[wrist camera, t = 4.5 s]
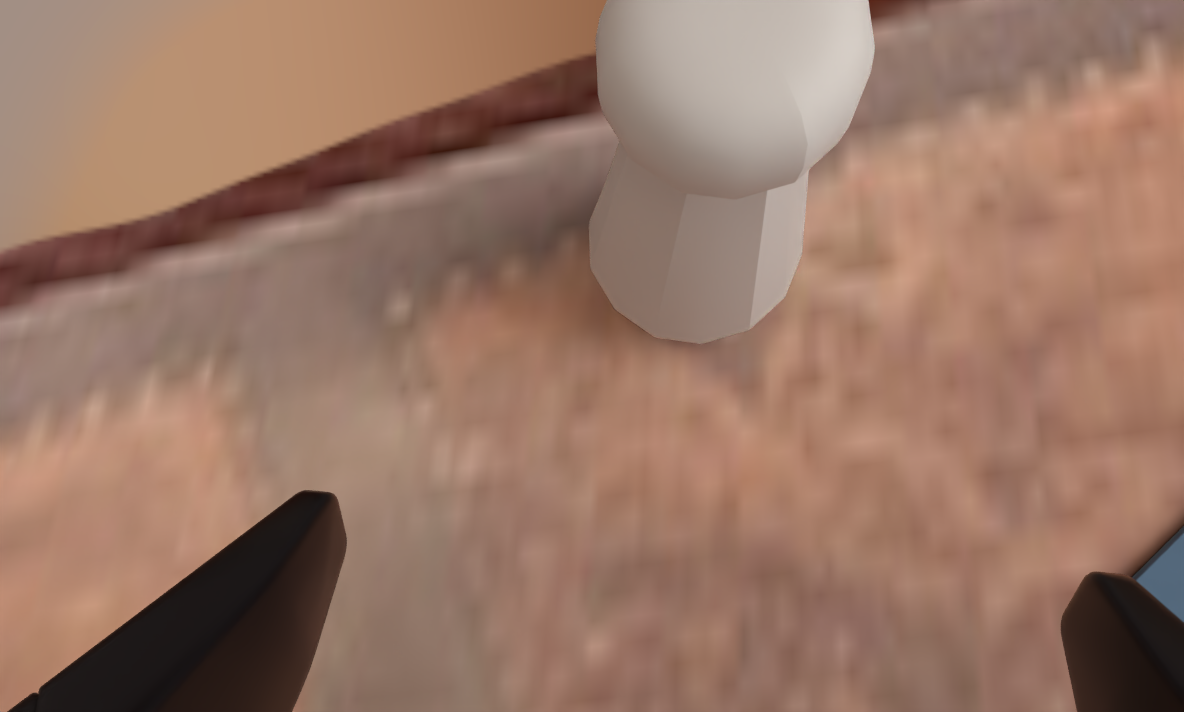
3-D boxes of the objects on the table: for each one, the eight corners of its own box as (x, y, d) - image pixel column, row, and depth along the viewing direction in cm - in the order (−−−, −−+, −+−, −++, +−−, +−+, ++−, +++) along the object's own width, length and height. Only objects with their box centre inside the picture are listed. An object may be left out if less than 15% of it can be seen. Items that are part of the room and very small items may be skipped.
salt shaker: (578, 340, 24) (500, 170, 11) (609, 162, 25) (570, -183, 12) (774, 370, 24) (924, 228, 11) (798, 187, 24) (965, -146, 12)
